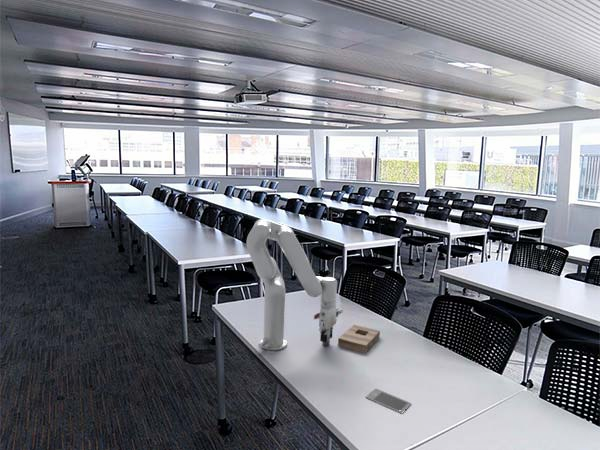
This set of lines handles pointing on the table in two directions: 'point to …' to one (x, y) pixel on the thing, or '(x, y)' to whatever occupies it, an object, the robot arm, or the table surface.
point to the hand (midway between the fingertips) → (326, 339)
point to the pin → (327, 338)
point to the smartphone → (388, 400)
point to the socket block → (359, 338)
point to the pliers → (336, 313)
